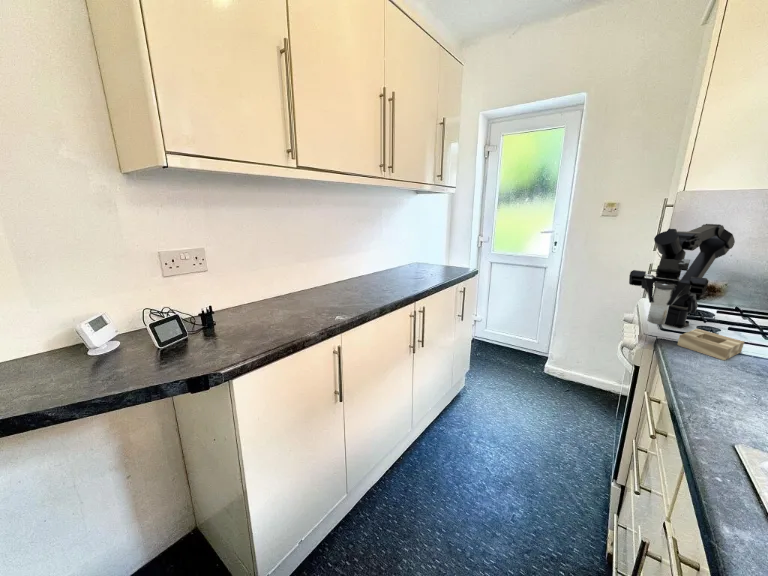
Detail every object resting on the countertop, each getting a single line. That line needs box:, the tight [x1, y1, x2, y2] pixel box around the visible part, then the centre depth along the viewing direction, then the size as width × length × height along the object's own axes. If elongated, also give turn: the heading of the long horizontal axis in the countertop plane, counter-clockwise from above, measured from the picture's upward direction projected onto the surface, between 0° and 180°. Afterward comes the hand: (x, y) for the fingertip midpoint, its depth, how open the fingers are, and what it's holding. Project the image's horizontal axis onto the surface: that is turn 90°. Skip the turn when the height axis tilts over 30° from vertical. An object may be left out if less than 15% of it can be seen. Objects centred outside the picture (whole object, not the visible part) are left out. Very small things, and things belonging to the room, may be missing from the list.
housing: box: [676, 328, 745, 361], centre depth 97 cm, size 11×11×4 cm
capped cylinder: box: [646, 281, 676, 326], centre depth 100 cm, size 5×5×13 cm
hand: (659, 303), depth 99 cm, fingers closed on capped cylinder, 4 cm apart
